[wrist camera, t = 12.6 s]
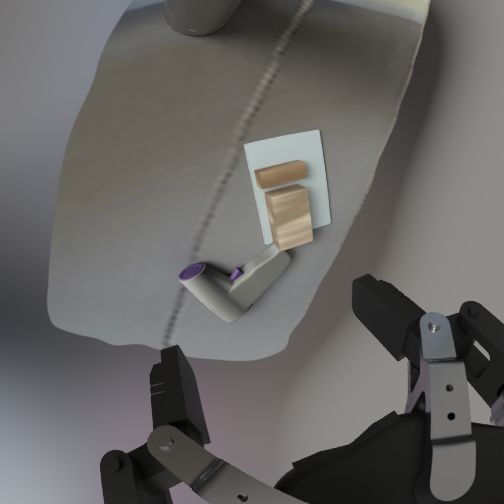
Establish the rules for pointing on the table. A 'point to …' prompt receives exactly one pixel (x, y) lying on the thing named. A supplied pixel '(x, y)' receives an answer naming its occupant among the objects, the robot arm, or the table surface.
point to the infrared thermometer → (235, 283)
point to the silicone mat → (283, 151)
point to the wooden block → (289, 216)
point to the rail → (280, 174)
